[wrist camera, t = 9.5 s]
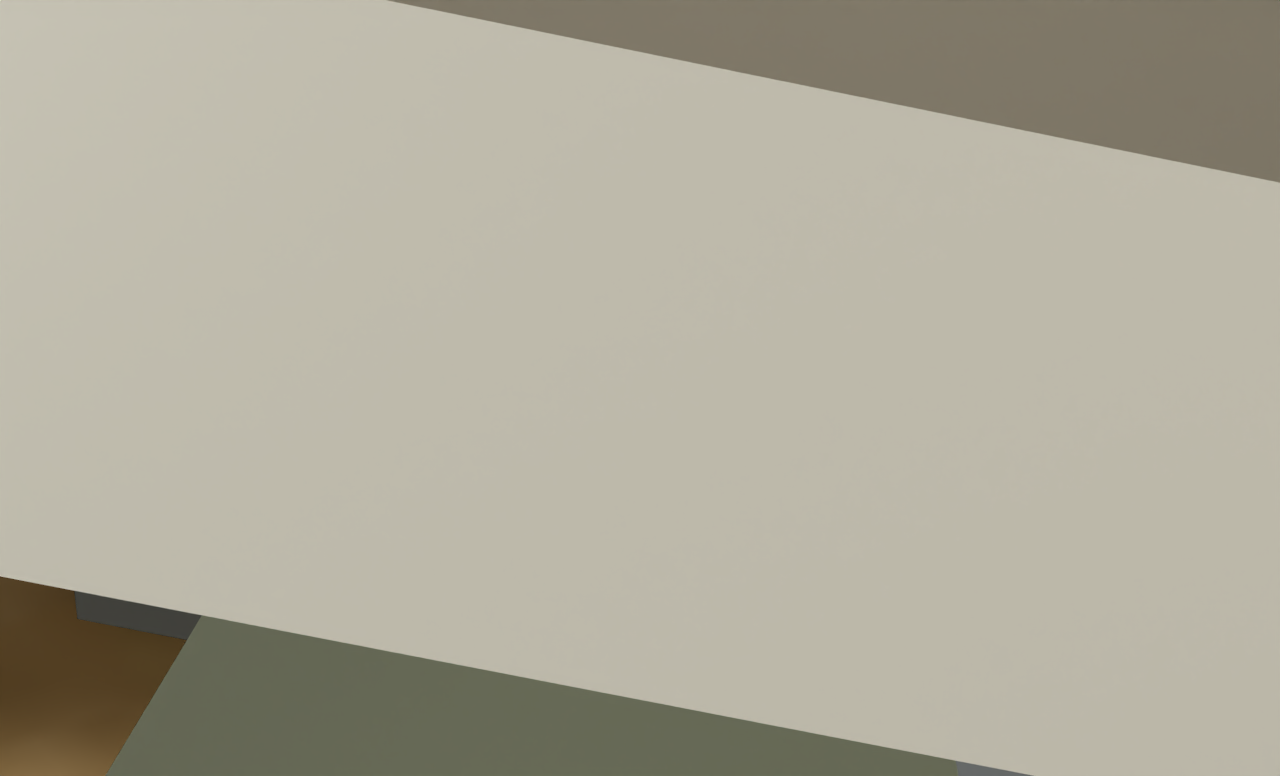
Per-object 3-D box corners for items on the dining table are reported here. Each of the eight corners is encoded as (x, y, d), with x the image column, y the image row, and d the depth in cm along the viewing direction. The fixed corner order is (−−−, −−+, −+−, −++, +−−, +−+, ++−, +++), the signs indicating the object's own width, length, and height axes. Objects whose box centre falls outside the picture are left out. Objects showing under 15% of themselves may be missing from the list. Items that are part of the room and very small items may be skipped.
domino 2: (461, 181, 14) (-128, 1165, 5) (861, 261, 14) (1073, 1385, 5) (450, 296, 15) (-70, 1327, 5) (827, 371, 15) (950, 1510, 6)
